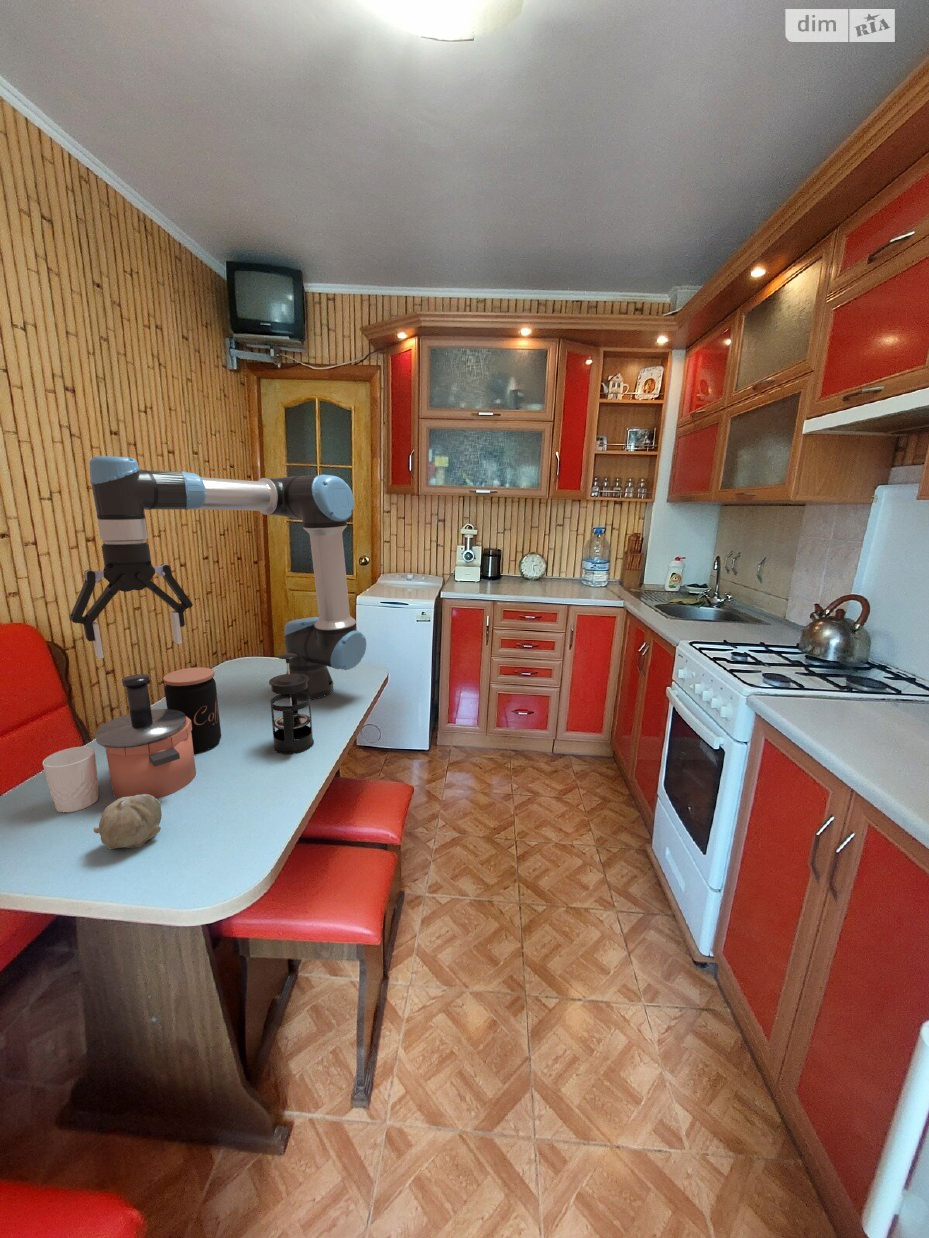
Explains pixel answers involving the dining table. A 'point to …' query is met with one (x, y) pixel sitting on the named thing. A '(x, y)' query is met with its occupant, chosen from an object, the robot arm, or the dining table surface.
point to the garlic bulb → (130, 821)
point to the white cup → (72, 778)
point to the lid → (140, 719)
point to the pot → (153, 766)
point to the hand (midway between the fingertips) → (140, 649)
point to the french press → (291, 712)
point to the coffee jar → (196, 703)
